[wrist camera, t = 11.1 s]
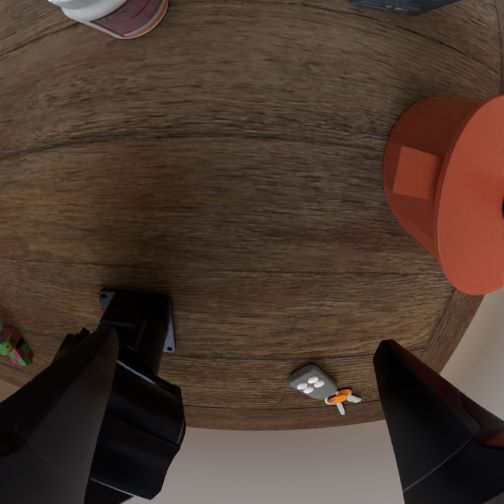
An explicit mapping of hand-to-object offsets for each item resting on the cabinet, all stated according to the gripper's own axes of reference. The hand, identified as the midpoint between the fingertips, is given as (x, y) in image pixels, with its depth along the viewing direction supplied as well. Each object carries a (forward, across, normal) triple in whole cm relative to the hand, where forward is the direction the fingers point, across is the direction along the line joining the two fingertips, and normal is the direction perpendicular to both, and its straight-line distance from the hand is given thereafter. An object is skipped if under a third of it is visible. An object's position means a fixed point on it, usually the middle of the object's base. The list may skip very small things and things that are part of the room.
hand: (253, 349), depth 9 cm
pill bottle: (+13, +9, -14) cm, 21 cm away
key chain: (+13, -12, +20) cm, 27 cm away
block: (+14, +27, +19) cm, 36 cm away
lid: (+5, -15, -6) cm, 17 cm away
